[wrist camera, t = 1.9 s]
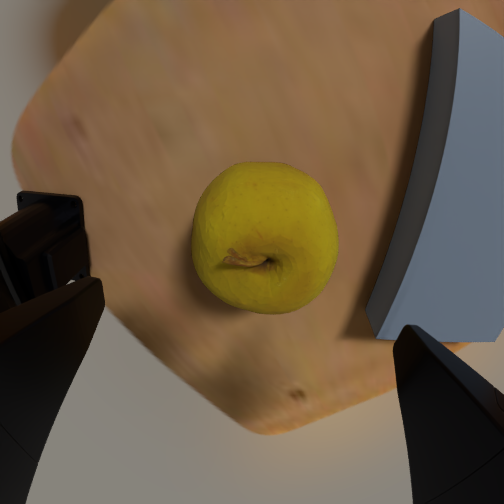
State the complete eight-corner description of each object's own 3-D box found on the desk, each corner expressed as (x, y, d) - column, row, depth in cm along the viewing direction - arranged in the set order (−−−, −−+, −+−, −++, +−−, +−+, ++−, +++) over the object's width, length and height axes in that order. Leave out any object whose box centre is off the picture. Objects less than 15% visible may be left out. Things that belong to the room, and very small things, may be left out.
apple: (203, 155, 16) (145, 194, 8) (321, 148, 15) (366, 180, 8) (216, 259, 18) (185, 352, 11) (321, 255, 18) (348, 349, 11)
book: (364, 310, 19) (376, 338, 17) (434, 19, 10) (459, 8, 8) (479, 319, 19) (494, 341, 17) (547, 97, 11) (573, 101, 8)
